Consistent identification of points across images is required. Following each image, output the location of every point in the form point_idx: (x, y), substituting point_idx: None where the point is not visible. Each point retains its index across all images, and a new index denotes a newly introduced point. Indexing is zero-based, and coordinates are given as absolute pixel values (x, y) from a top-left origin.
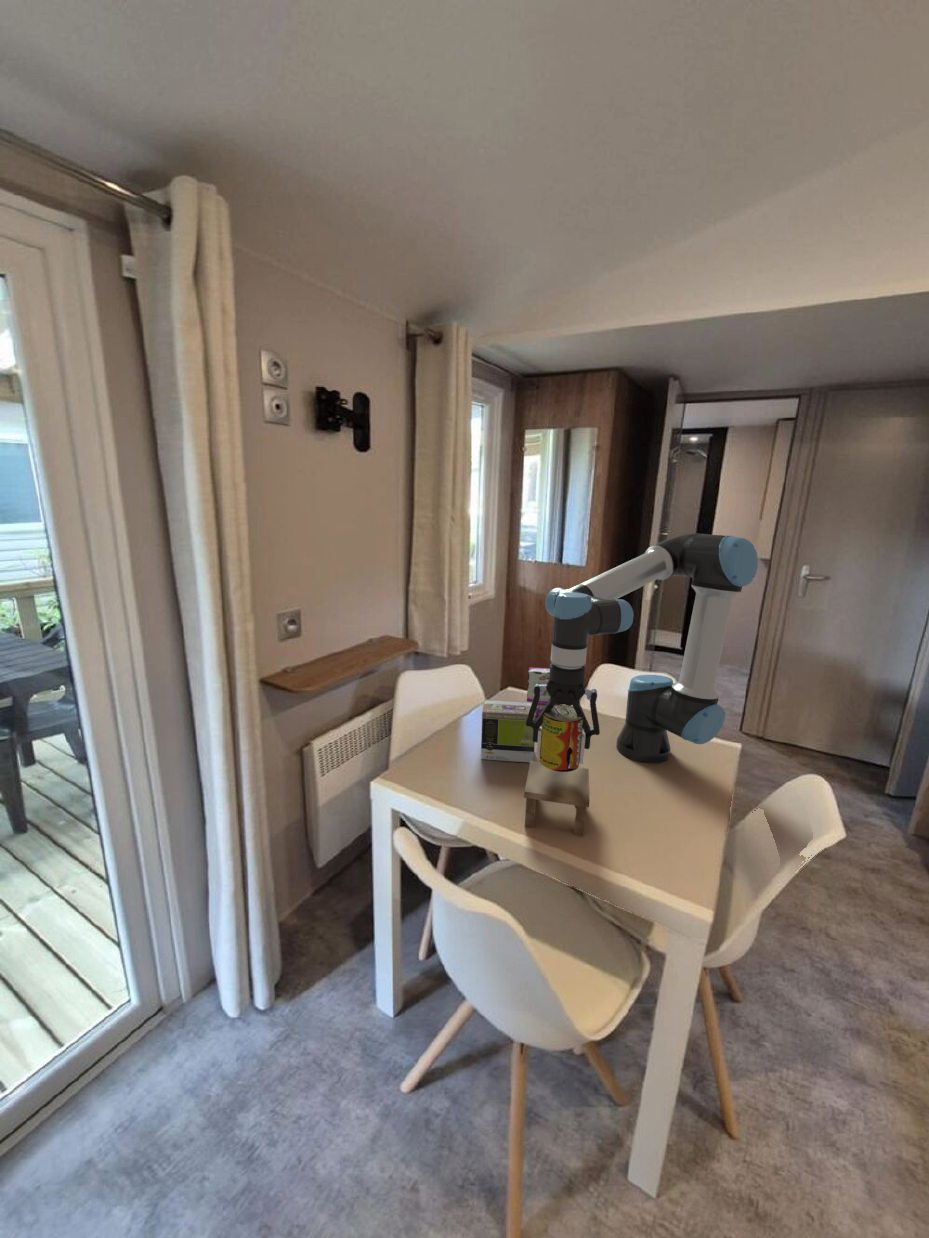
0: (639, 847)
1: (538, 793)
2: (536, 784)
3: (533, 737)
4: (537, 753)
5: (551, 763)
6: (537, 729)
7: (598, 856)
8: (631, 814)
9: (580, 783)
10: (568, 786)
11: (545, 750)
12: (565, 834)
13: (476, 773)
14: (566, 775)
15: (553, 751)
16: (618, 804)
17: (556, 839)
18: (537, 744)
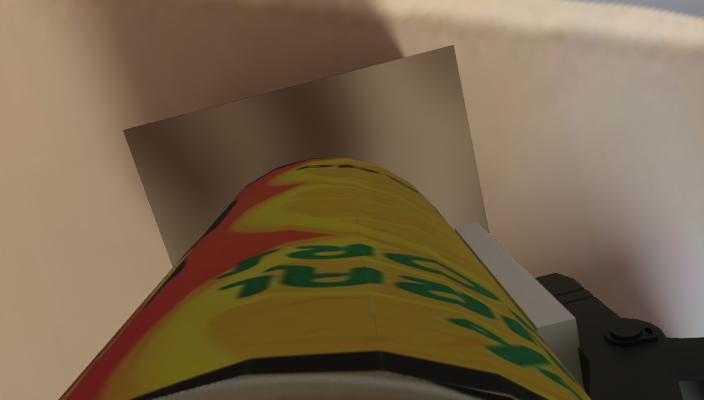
0: (5, 158)
1: (381, 65)
2: (416, 144)
3: (578, 291)
4: (479, 231)
5: (348, 165)
6: (594, 328)
7: (113, 32)
8: (88, 331)
9: None
10: None
11: (420, 206)
12: None
13: (683, 298)
14: None
15: (342, 185)
16: None
17: (278, 51)
18: (510, 258)
